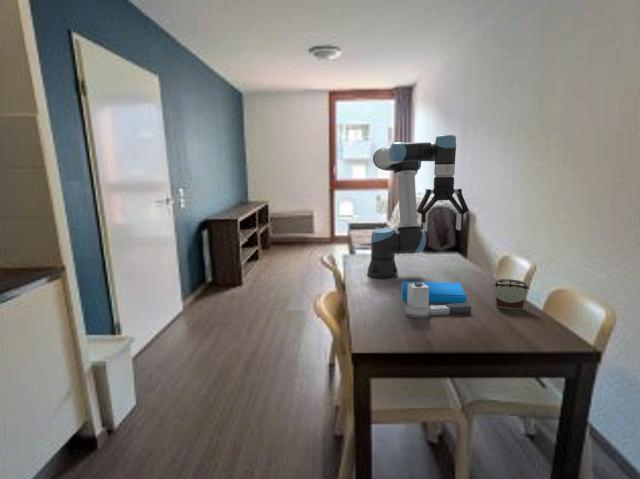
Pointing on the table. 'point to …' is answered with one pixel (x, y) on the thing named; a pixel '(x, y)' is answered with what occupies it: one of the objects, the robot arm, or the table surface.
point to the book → (440, 292)
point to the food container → (510, 293)
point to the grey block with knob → (418, 295)
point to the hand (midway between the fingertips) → (441, 230)
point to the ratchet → (439, 310)
